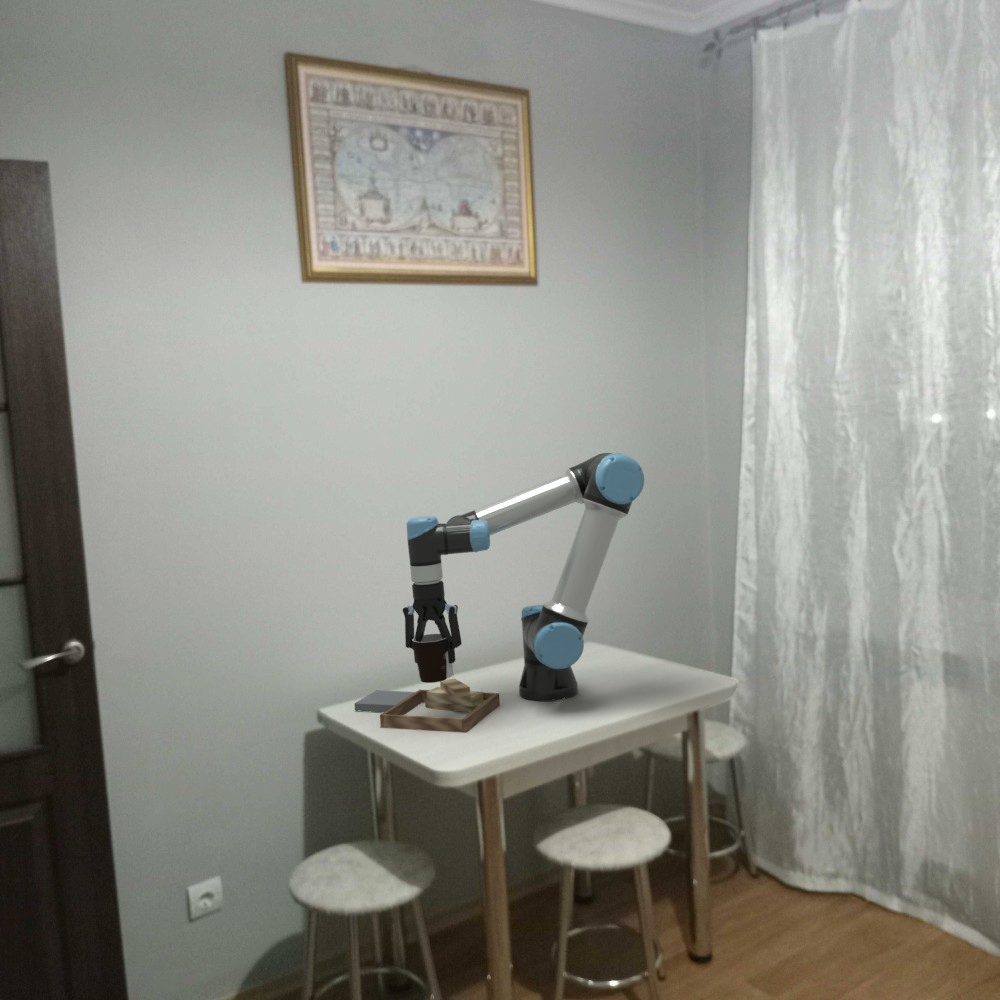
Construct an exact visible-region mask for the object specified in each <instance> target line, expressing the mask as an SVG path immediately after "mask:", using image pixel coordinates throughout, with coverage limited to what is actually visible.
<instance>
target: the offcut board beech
mask: <svg viewBox="0 0 1000 1000" xmlns="http://www.w3.org/2000/svg"><path fill="white" fill-rule="evenodd" d="M439 683H440V684H439V685H440V686H439V687H441V689H442V690H443V691H445V692H447V693H448V694H450V695H451V696H453V697H455V698H457V697H462V696H468V695H470V691H471V687H470V686H469V685H467V684H465V683H463V682H462V681H460V680H458V679H457V678H448V679H446V680H444V681H440V682H439Z"/></svg>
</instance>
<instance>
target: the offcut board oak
mask: <svg viewBox="0 0 1000 1000" xmlns="http://www.w3.org/2000/svg"><path fill="white" fill-rule="evenodd" d="M483 701H486V700H483ZM482 703H483V702H482ZM482 703H480V704H482ZM480 704H478V705H476V706H474V707H471V706H463V705H455V704H447V703H439V702H432V701H427V700H426V701H425V702H424V708H425V707H426V708H425V709H433V708H436V709H435V710H443V709H445V710H447V711H454V710H456V712H467V713H470V712H471V711H473V710H474V709H475V708H477V707H478V706H479V705H480ZM445 710H444V711H445Z"/></svg>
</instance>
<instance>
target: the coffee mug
mask: <svg viewBox="0 0 1000 1000" xmlns="http://www.w3.org/2000/svg"><path fill="white" fill-rule="evenodd" d="M412 642H413V647H414V651H415V656H416V661H417V663H416V664H417V669H418V675H419V674H420V679H419V680H420V682H422V683H426V684H432V683H434V684H435V683H440V681H444V680H448V678H446V669H447V651H446V649H447V638H444V639H442V636H441V634H440V633H429V634H424V636H423V639H422V641H421V642H416V639H415V637H414V638H413V639H412ZM414 651H413V652H414Z"/></svg>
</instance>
